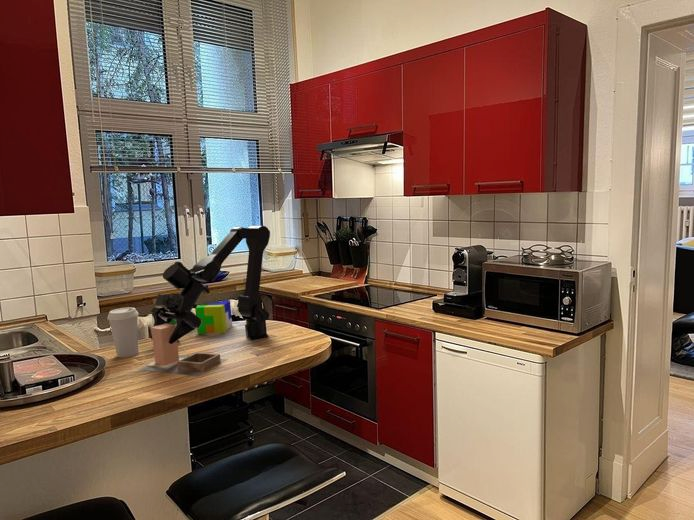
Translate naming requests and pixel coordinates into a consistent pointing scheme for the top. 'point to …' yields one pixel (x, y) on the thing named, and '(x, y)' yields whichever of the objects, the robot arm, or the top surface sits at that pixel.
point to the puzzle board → (188, 364)
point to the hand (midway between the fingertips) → (160, 341)
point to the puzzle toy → (214, 316)
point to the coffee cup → (124, 331)
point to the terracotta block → (164, 344)
